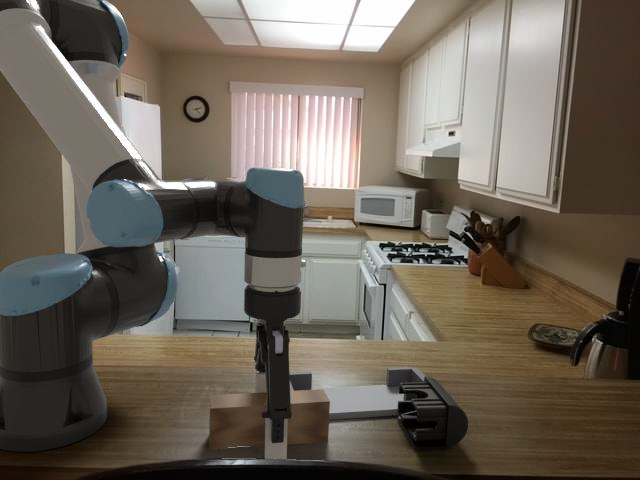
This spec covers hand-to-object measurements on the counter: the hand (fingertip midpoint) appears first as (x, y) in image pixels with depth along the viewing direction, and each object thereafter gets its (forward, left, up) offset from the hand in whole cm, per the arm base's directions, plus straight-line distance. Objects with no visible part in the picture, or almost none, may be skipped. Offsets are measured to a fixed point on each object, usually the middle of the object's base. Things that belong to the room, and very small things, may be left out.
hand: (269, 436), depth 74 cm
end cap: (+23, -2, 0) cm, 23 cm away
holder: (+15, +9, 0) cm, 17 cm away
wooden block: (0, 0, 0) cm, 0 cm away
